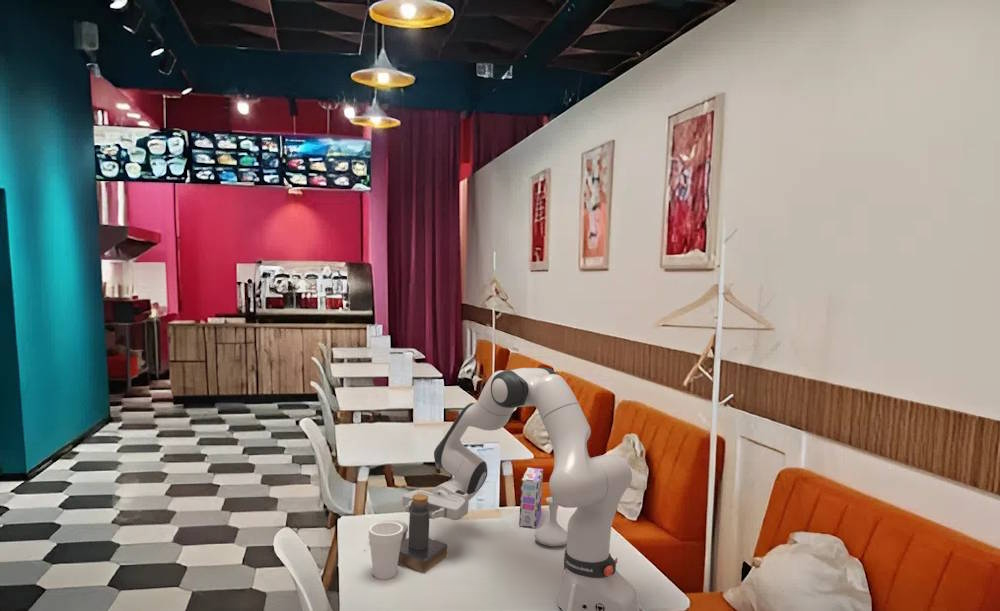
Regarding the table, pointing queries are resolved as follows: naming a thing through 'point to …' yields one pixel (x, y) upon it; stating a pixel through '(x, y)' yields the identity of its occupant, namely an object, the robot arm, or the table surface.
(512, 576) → the table surface
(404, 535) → the ramekin
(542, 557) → the table surface
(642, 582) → the table surface
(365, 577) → the table surface
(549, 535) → the grey vase
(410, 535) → the bottle
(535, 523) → the candy box
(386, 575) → the foam cup
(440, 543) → the podium
